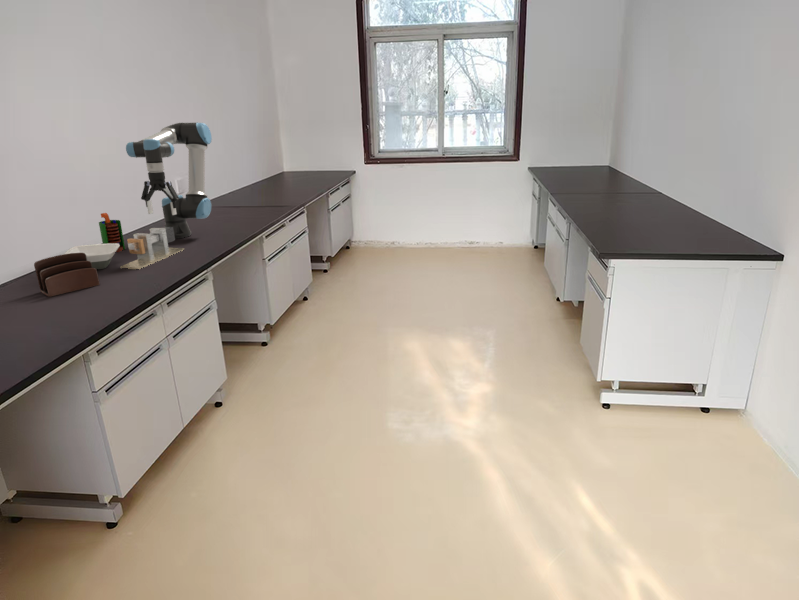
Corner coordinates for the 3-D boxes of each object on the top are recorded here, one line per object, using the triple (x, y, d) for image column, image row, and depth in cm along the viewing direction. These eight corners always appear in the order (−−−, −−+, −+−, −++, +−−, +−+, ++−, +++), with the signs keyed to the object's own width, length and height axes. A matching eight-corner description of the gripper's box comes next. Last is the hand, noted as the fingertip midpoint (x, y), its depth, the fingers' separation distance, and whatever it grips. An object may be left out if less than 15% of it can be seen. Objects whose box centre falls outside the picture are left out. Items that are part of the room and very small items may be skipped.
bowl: (62, 275, 244) (58, 257, 241) (76, 262, 265) (72, 245, 262) (115, 271, 250) (112, 254, 247) (125, 258, 270) (122, 242, 267)
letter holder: (40, 292, 223) (32, 259, 218) (91, 280, 237) (84, 249, 232) (49, 297, 217) (40, 264, 212) (100, 285, 231) (93, 253, 226)
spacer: (129, 253, 257) (127, 239, 255) (132, 252, 259) (130, 238, 257) (142, 254, 256) (140, 239, 253) (145, 253, 258) (142, 238, 255)
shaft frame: (120, 268, 254) (115, 239, 249) (167, 249, 287) (163, 223, 282) (139, 269, 252) (133, 240, 247) (184, 250, 285) (180, 224, 280)
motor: (114, 253, 279) (107, 215, 272) (99, 253, 281) (92, 215, 274) (127, 248, 288) (120, 211, 281) (113, 248, 290) (106, 211, 283)
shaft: (128, 254, 255) (125, 240, 252) (166, 239, 282) (164, 226, 279) (137, 255, 254) (134, 240, 251) (175, 240, 281) (173, 227, 278)
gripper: (129, 171, 265) (136, 214, 272) (173, 172, 260) (179, 216, 267) (139, 170, 272) (146, 211, 279) (182, 171, 267) (188, 213, 274)
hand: (162, 214), depth 273 cm, fingers open, 13 cm apart
